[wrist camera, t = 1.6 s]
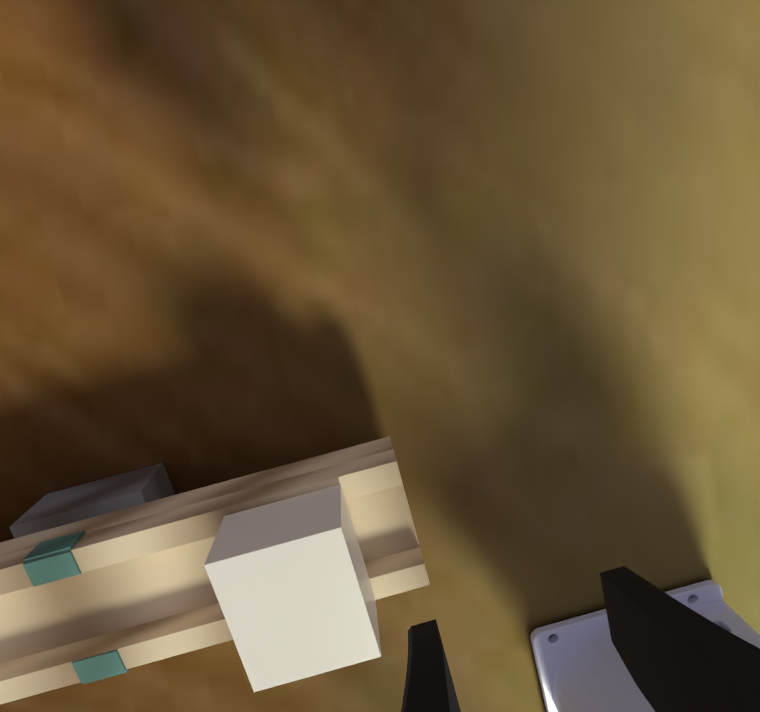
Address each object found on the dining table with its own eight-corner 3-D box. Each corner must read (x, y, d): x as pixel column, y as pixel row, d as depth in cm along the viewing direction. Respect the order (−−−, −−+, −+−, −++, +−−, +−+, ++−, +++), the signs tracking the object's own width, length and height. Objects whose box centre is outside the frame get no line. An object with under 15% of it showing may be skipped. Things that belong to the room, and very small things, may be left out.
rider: (340, 469, 18) (341, 527, 14) (372, 578, 19) (381, 656, 16) (230, 499, 18) (204, 564, 14) (269, 606, 19) (254, 692, 15)
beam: (381, 403, 22) (399, 474, 15) (414, 524, 23) (444, 638, 16) (-178, 555, 21) (-408, 696, 15) (-109, 669, 23) (-290, 844, 16)
